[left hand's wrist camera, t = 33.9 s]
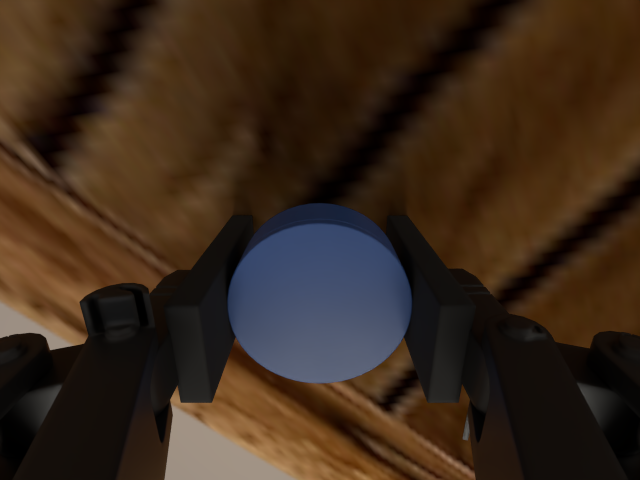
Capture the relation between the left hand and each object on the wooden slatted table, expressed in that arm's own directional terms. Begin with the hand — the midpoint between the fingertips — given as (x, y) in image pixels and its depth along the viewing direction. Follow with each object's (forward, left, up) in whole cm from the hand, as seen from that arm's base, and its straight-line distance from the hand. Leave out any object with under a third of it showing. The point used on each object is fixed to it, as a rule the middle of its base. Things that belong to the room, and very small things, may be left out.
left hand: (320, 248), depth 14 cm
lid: (0, 0, +4) cm, 4 cm away
